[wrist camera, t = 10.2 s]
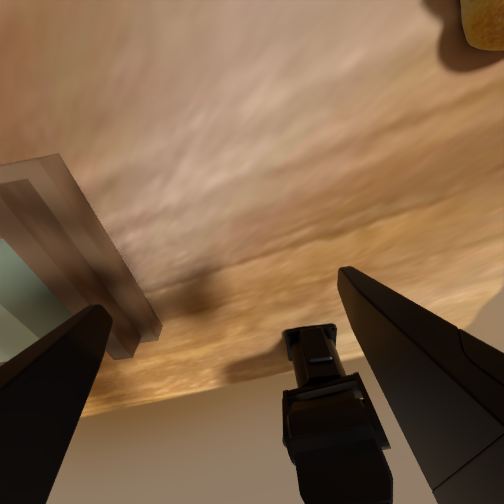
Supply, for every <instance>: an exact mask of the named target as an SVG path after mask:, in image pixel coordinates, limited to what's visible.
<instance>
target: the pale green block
mask: <svg viewBox="0 0 504 504" xmlns="http://www.w3.org/2000/svg"><path fill="white" fill-rule="evenodd" d="M72 316H73V314H72V313H71V312H70V311H69V310H68V309H67V308H66V307H65V306H64V305H63V304H62V302H61V301H60V300H59V299H58V298H57V297H56V296H55V295H54V294H53V293H52V292H51V290H50V289H49V288H48V287H47V286H46V285H45V284H44V283H43V282H42V281H41V280H40V278H39V277H38V276H37V275H36V274H35V273H34V272H33V271H32V270H31V269H30V268H29V266H28V265H27V264H26V263H25V262H24V261H23V260H22V259H21V258H20V257H19V256H18V254H17V253H16V252H15V251H14V250H13V249H12V248H11V247H10V246H9V245H8V244H7V242H6V241H5V240H4V239H0V362H6V361H9V360H10V359H11V358H13V357H14V356H16V355H17V354H19V353H20V352H22V351H23V350H24V349H26V348H27V347H29V346H30V345H32V344H33V343H35V342H36V341H37V340H39V339H40V338H42V337H43V336H45V335H46V334H48V333H49V332H51V331H52V330H53V329H55V328H56V327H58V326H59V325H61V324H62V323H64V322H65V321H66V320H68V319H69V318H71V317H72Z"/></svg>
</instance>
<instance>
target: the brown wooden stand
mask: <svg viewBox="0 0 504 504" xmlns="http://www.w3.org/2000/svg"><path fill="white" fill-rule="evenodd" d="M0 239H4V240H5V241H6V242H7V244H8V245H9V246H10V247H11V248H12V249H13V250H14V251H15V252H16V253H17V254H18V256H19V257H20V258H21V259H22V260H23V261H24V262H25V263H26V264H27V265H28V266H29V268H30V269H31V270H32V271H33V272H34V273H35V274H36V275H37V276H38V277H39V278H40V280H41V281H42V282H43V283H44V284H45V285H46V286H47V287H48V288H49V289H50V290H51V292H52V293H53V294H54V295H55V296H56V297H57V298H58V299H59V300H60V301H61V302H62V304H63V305H64V306H65V307H66V308H67V309H68V310H69V311H70V312H71V313H72V314H73V316H74V315H75V314H77V313H78V312H79V311H81V310H82V309H84V308H85V307H87V306H89V305H93V304H102V305H103V306H104V307H105V309H106V310H107V311H108V312H109V314H110V315H111V316H112V318H113V325H112V328H111V332H110V335H109V339H108V342H107V345H106V349H105V350H106V352H107V353H108V354H109V355H110V356H111V357H112V358H113V359H114V360H119V359H126V358H133V355H134V353H135V351H136V348H137V346H138V344H139V343H142V342H150V341H157V340H158V338H159V336H160V333H161V330H162V327H163V325H162V324H161V322H160V320H159V319H158V317H157V315H156V314H155V312H154V310H153V309H152V307H151V306H150V304H149V302H148V301H147V299H146V297H145V296H144V294H143V292H142V291H141V289H140V287H139V286H138V284H137V282H136V281H135V279H134V277H133V276H132V274H131V272H130V271H129V269H128V267H127V266H126V264H125V263H124V261H123V259H122V258H121V256H120V254H119V253H118V251H117V249H116V248H115V246H114V244H113V243H112V241H111V239H110V238H109V236H108V234H107V233H106V231H105V229H104V228H103V226H102V224H101V223H100V221H99V220H98V218H97V216H96V215H95V213H94V211H93V210H92V208H91V206H90V205H89V203H88V201H87V200H86V198H85V196H84V195H83V193H82V191H81V190H80V188H79V186H78V185H77V183H76V182H75V180H74V178H73V177H72V175H71V173H70V172H69V170H68V168H67V167H66V165H65V163H64V162H63V160H62V158H61V157H60V155H59V154H55V155H50V156H44V157H39V158H34V159H29V160H24V161H19V162H14V163H9V164H4V165H0ZM6 362H7V361H6ZM6 362H0V366H1V365H3V364H4V363H6Z"/></svg>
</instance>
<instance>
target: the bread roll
mask: <svg viewBox="0 0 504 504" xmlns="http://www.w3.org/2000/svg"><path fill="white" fill-rule="evenodd" d="M460 4H461V20H462V25H463V29H464V34H465V37H466V39H467V42H468V43H469V44H470V45H471V46H473V47H475V48H478V49H482V50H492V51H500V50H504V0H460Z"/></svg>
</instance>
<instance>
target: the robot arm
mask: <svg viewBox="0 0 504 504" xmlns="http://www.w3.org/2000/svg"><path fill="white" fill-rule="evenodd" d="M337 287H338V291H339V294H340V297H341V300H342V303H343V305H344V308H345V311H346V314H347V317H348V319H349V322H350V325H351V328H352V330H353V332H354V334H355V336H356V338H357V340H358V342H359V344H360V346H361V348H362V351H363V353H364V355H365V357H366V358H367V361H368V363H369V365H370V366H371V369H372V371H373V373H374V375H375V377H376V379H377V381H378V383H379V385H380V387H381V389H382V391H383V393H384V395H385V397H386V399H387V401H388V403H389V405H390V407H391V409H392V411H393V413H394V415H395V417H396V419H397V421H398V423H399V425H400V427H401V430H402V432H403V433H404V436H405V438H406V440H407V442H408V444H409V446H410V448H411V450H412V452H413V454H414V456H415V458H416V460H417V462H418V464H419V466H420V468H421V470H422V472H423V474H424V476H425V478H426V480H427V482H428V484H429V486H430V488H431V489H432V490H433V491H432V493H433V494H434V497H435V499H436V501H437V503H438V504H504V353H503V352H501V351H499V350H497V349H496V348H494V347H492V346H490V345H488V344H486V343H485V342H483V341H481V340H479V339H477V338H476V337H474V336H472V335H470V334H469V333H467V332H465V331H463V330H462V329H458V328H457V327H456V326H455V325H453V324H451V323H449V322H448V321H446V320H444V319H442V318H441V317H439V316H437V315H435V314H434V313H432V312H430V311H428V310H427V309H425V308H423V307H421V306H420V305H418V304H416V303H415V302H413V301H411V300H409V299H408V298H406V297H404V296H402V295H401V294H399V293H397V292H395V291H394V290H392V289H390V288H388V287H387V286H385V285H383V284H381V283H380V282H378V281H376V280H374V279H373V278H371V277H369V276H367V275H366V274H364V273H362V272H361V271H359V270H357V269H355V268H354V267H351V266H347V267H341V268H339V270H338V281H337ZM112 325H113V318H112V316H111V315H110V314H109V312H108V311H107V310H106V309H105V307H104V306H103V305H102V304H93V305H89V306H87V307H85V308H84V309H82V310H81V311H79V312H78V313H77V314H75V315H74V316H72V317H71V318H69V319H68V320H66V321H65V322H64V323H62V324H61V325H59V326H58V327H56V328H55V329H53V330H52V331H51V332H49V333H48V334H46V335H45V336H43V337H42V338H40V339H39V340H37V341H36V342H35V343H33V344H32V345H30V346H29V347H27V348H26V349H24V350H23V351H22V352H20V353H19V354H17V355H16V356H14V357H13V358H11V359H10V360H9V361H7V362H6V363H4V364H3V365H1V366H0V504H46V502H47V500H48V497H49V494H50V492H51V489H52V487H53V484H54V482H55V479H56V477H57V474H58V472H59V469H60V467H61V464H62V461H63V459H64V456H65V454H66V451H67V449H68V446H69V444H70V441H71V439H72V436H73V434H74V431H75V429H76V426H77V423H78V421H79V418H80V416H81V413H82V411H83V408H84V406H85V403H86V401H87V398H88V396H89V393H90V390H91V388H92V385H93V383H94V380H95V378H96V375H97V373H98V370H99V368H100V365H101V362H102V359H103V356H104V352H105V349H106V345H107V342H108V339H109V335H110V332H111V328H112ZM336 334H337V328H336V325H335V324H330V325H322V326H315V327H307V328H300V329H292V330H287V331H285V337H286V345H287V352H288V359H289V361H293V366H294V371H295V376H296V381H297V385H298V388H296V389H292V390H285V391H283V399H282V407H283V408H282V409H283V444H284V446H285V447H286V448H287V450H288V454H289V456H290V459H291V461H292V463H293V464H294V465H295V466H296V471H297V477H298V484H299V491H300V495H301V497H302V499H303V501H304V503H305V504H393V477H392V473H391V471H390V468H389V466H388V463H387V461H386V459H385V456H384V454H383V451H382V450H386V449H391V447H390V444H389V442H388V439H387V437H386V435H385V432H384V430H383V427H382V425H381V423H380V420H379V418H378V416H377V413H376V411H375V409H374V407H373V405H372V402H371V400H370V398H369V395H368V393H367V391H366V389H365V386H364V384H363V382H362V380H361V378H360V375H359V373H358V372H355V373H353V374H351V375H347V376H346V374H345V371H344V368H343V366H342V363H341V361H340V358H339V355H338V353H337V350H336ZM360 398H363V399H362V400H361V399H360Z"/></svg>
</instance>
